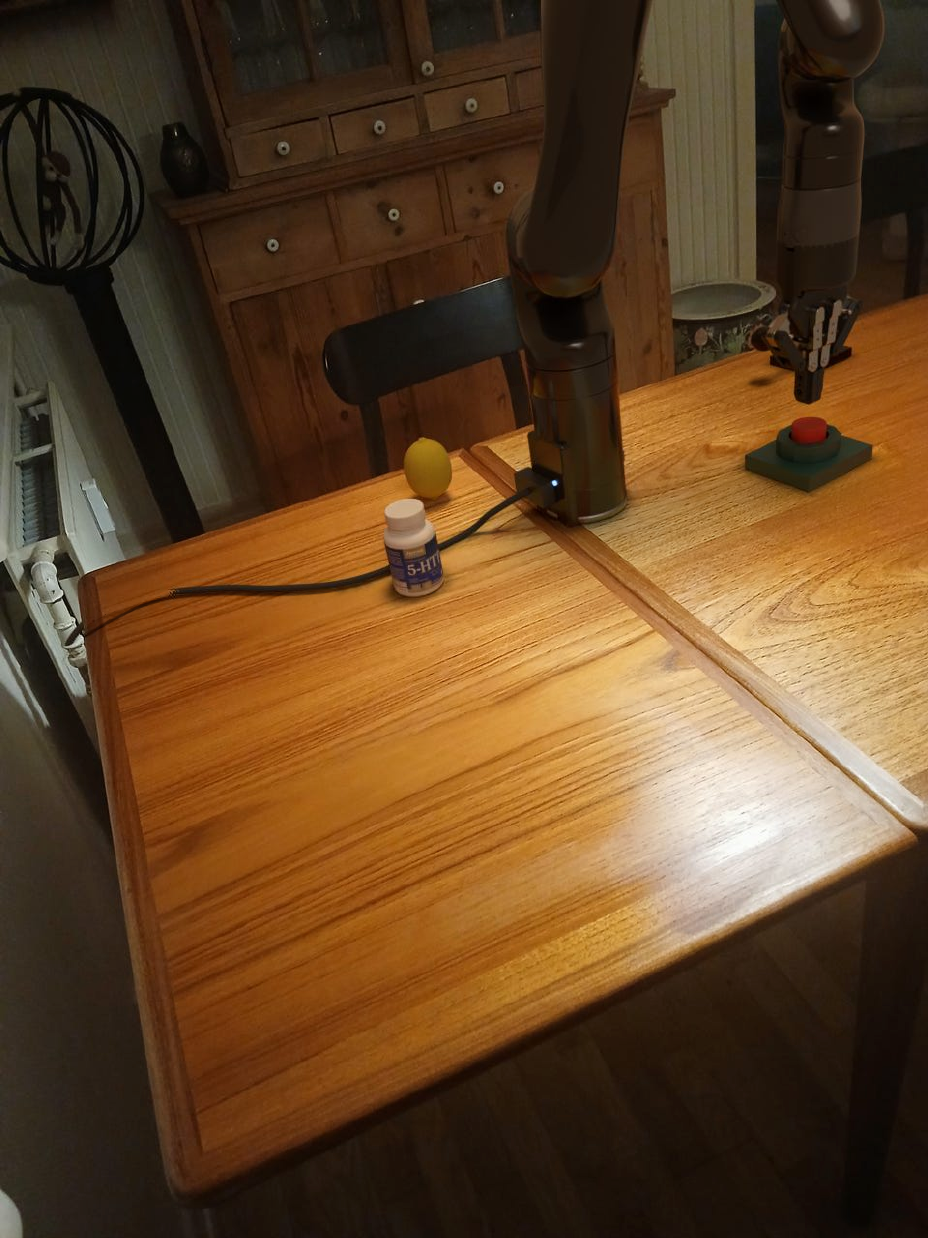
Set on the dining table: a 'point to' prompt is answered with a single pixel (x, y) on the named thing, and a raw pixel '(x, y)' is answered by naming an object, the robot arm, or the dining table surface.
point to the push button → (808, 430)
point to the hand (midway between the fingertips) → (807, 400)
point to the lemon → (427, 468)
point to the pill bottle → (412, 549)
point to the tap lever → (757, 339)
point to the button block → (808, 458)
